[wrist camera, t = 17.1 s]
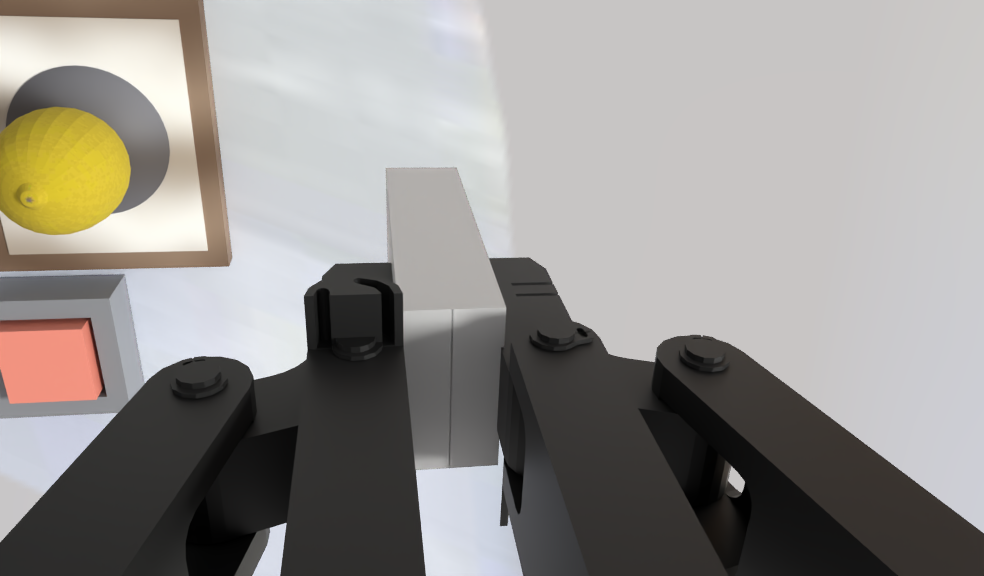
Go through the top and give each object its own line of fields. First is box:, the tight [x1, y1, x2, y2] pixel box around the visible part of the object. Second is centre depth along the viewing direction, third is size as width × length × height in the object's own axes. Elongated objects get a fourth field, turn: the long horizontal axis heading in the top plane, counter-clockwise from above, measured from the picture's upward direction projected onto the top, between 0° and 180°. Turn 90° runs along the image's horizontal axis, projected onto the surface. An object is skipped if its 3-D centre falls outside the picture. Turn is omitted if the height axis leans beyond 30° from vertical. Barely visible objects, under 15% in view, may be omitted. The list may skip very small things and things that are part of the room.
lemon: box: [0, 107, 131, 235], centre depth 36 cm, size 6×6×8 cm
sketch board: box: [0, 0, 232, 272], centre depth 40 cm, size 14×12×1 cm
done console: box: [0, 275, 144, 418], centre depth 44 cm, size 7×7×3 cm
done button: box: [0, 318, 105, 404], centre depth 43 cm, size 4×4×2 cm
